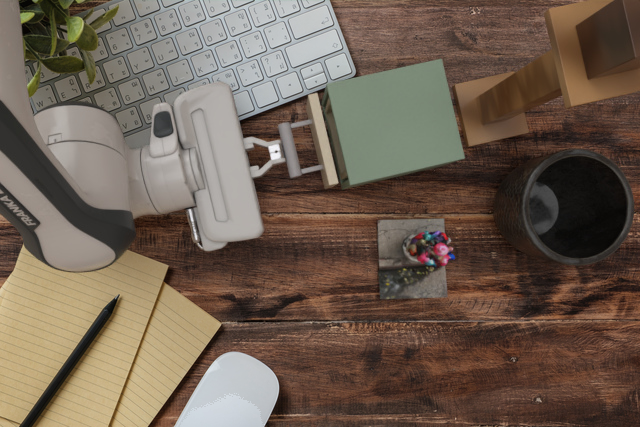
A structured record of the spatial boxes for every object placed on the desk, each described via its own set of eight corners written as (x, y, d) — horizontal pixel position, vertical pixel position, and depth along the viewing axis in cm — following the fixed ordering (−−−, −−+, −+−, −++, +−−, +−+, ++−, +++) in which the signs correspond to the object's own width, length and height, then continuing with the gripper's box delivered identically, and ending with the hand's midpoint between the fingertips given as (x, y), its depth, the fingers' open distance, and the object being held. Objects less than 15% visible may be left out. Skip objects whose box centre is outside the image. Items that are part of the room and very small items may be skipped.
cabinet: (341, 189, 67) (350, 185, 58) (321, 102, 67) (326, 83, 58) (440, 166, 68) (465, 158, 59) (420, 80, 68) (442, 58, 59)
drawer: (293, 196, 66) (294, 193, 58) (274, 115, 66) (272, 102, 58) (417, 167, 67) (434, 160, 59) (399, 88, 67) (413, 71, 59)
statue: (375, 221, 69) (396, 206, 54) (439, 220, 69) (478, 205, 54) (378, 298, 68) (401, 305, 53) (444, 296, 68) (484, 302, 53)
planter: (478, 258, 69) (522, 267, 56) (477, 160, 69) (520, 148, 56) (572, 256, 70) (637, 265, 57) (571, 160, 70) (635, 147, 57)
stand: (451, 86, 69) (548, 8, 43) (511, 73, 69) (642, -12, 43) (465, 147, 69) (571, 106, 43) (525, 134, 69) (664, 85, 43)
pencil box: (574, 25, 43) (621, -6, 37) (626, 14, 43) (681, -19, 37) (587, 80, 43) (635, 58, 37) (639, 68, 43) (695, 44, 37)
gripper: (190, 257, 58) (302, 230, 59) (151, 91, 57) (264, 67, 58) (200, 253, 64) (301, 229, 65) (164, 103, 64) (266, 81, 65)
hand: (283, 151), depth 62 cm, fingers closed, pressing on drawer
